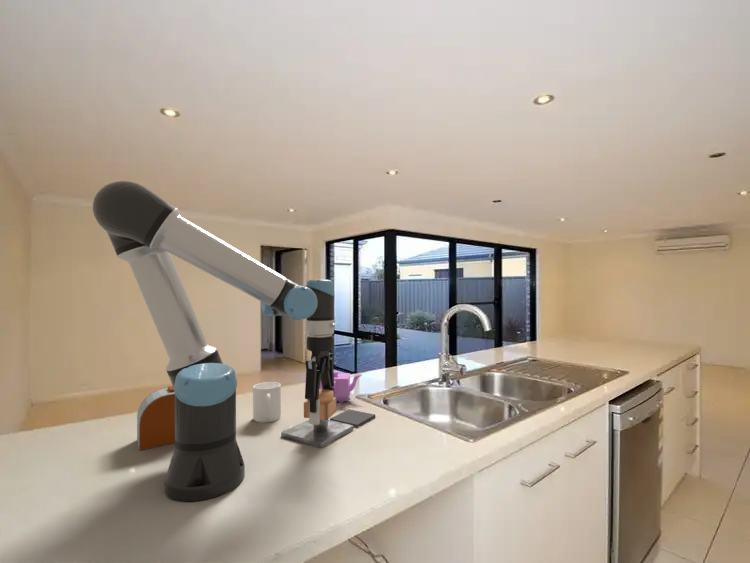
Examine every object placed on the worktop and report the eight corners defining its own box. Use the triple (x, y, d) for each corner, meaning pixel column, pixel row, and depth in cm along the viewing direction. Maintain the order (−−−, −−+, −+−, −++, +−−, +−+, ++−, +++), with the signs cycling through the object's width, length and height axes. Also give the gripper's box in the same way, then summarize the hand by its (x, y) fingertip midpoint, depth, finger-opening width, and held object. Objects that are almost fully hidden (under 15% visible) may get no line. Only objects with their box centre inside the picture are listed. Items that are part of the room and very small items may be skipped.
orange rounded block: (197, 427, 108) (197, 380, 109) (203, 436, 101) (203, 386, 102) (136, 439, 100) (137, 388, 100) (139, 450, 93) (139, 396, 93)
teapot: (363, 394, 140) (363, 367, 141) (361, 406, 127) (361, 376, 127) (315, 395, 141) (315, 368, 141) (308, 406, 127) (308, 376, 127)
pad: (357, 427, 107) (357, 424, 107) (329, 421, 113) (329, 418, 113) (375, 417, 116) (375, 414, 116) (349, 411, 121) (349, 409, 121)
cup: (279, 412, 121) (279, 381, 121) (283, 425, 110) (283, 390, 110) (252, 415, 118) (252, 383, 118) (253, 429, 107) (253, 393, 107)
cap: (303, 417, 100) (303, 395, 100) (314, 409, 107) (314, 388, 107) (327, 419, 99) (327, 397, 99) (336, 411, 105) (336, 390, 105)
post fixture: (321, 447, 94) (321, 411, 94) (281, 436, 101) (281, 402, 101) (353, 429, 106) (353, 397, 106) (315, 420, 113) (315, 390, 113)
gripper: (317, 340, 93) (317, 433, 92) (345, 331, 112) (345, 408, 111) (290, 339, 95) (290, 430, 94) (322, 331, 114) (322, 406, 113)
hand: (320, 418), depth 103 cm, fingers closed on cap, 7 cm apart
